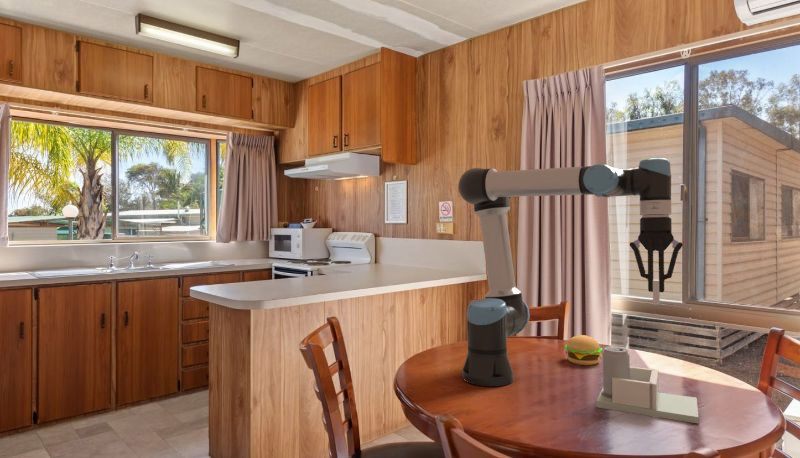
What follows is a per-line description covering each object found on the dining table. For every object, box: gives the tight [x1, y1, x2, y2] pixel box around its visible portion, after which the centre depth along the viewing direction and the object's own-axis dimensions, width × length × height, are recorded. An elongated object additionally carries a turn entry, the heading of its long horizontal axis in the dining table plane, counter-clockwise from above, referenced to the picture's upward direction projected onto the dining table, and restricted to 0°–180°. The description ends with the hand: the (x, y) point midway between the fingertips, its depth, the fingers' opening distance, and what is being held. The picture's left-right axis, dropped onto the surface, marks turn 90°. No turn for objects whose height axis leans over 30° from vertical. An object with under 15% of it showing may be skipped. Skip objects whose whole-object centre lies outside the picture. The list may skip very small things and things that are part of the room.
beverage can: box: [602, 346, 631, 397], centre depth 127 cm, size 6×6×12 cm
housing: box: [612, 365, 660, 409], centre depth 125 cm, size 10×14×6 cm
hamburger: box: [564, 334, 603, 366], centre depth 165 cm, size 12×12×9 cm
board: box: [595, 387, 700, 425], centre depth 124 cm, size 22×14×2 cm, turn 60°
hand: (656, 304), depth 132 cm, fingers closed
